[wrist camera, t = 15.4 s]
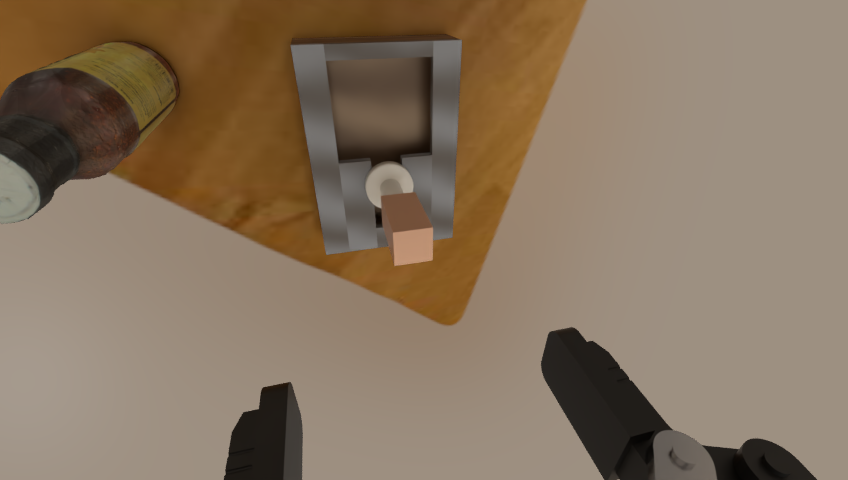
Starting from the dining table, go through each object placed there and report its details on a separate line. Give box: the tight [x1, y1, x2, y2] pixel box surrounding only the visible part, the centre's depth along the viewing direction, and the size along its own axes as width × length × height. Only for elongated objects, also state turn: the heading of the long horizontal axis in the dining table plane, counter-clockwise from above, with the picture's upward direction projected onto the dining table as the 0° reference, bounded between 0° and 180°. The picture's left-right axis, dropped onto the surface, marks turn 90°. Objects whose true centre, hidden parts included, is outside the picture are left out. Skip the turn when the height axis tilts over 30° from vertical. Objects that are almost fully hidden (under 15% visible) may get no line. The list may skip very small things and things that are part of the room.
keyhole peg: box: [365, 161, 433, 266], centre depth 34 cm, size 5×5×12 cm
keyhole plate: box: [291, 34, 462, 255], centre depth 39 cm, size 20×14×5 cm
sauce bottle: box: [0, 42, 179, 224], centre depth 25 cm, size 6×6×20 cm
